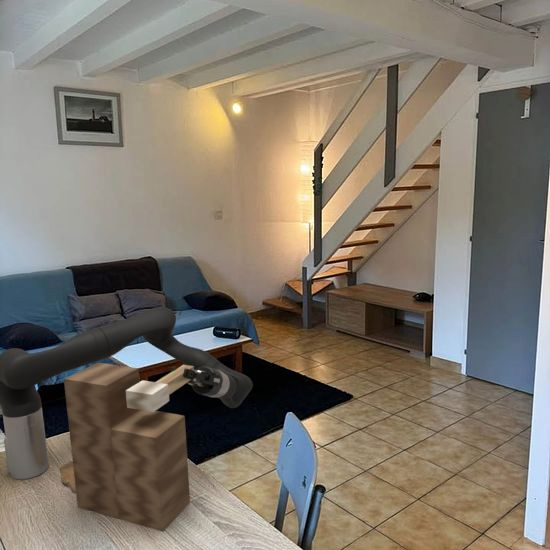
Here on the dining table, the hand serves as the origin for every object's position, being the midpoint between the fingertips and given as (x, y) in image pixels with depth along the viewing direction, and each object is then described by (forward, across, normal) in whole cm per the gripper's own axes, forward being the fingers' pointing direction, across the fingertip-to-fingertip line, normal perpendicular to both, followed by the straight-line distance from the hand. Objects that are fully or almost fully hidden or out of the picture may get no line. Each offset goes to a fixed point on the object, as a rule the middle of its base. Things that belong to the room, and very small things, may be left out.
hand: (178, 371), depth 127 cm
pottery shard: (-8, -28, +30) cm, 42 cm away
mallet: (+3, 0, +5) cm, 6 cm away
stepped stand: (-3, -6, +32) cm, 32 cm away
